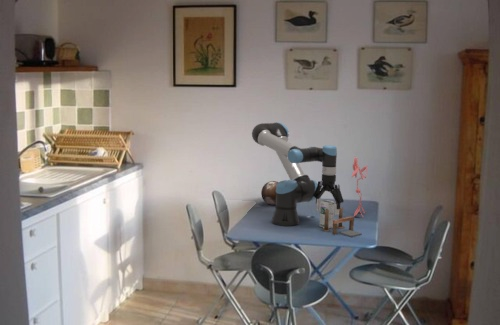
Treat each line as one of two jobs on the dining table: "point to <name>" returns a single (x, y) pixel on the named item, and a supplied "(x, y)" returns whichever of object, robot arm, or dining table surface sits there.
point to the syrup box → (329, 206)
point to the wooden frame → (338, 221)
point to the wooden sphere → (269, 192)
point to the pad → (350, 233)
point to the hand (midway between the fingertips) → (327, 212)
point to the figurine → (356, 168)
